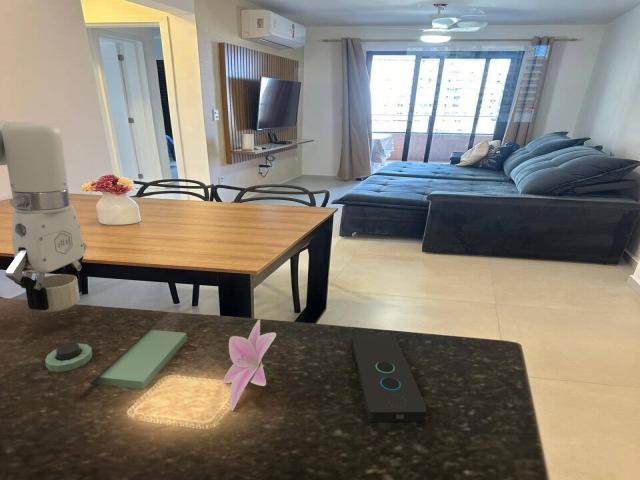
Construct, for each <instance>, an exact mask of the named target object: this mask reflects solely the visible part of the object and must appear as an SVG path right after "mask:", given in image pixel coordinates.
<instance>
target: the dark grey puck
mask: <svg viewBox="0 0 640 480" xmlns="http://www.w3.org/2000/svg"><path fill="white" fill-rule="evenodd" d="M78 344H79V343H78ZM78 344H77V343H76V342H71V343H66V344H63V345H61V346H59V347H57V348H56V349H57V350H56V349H55V350H56V354H57V359H58V360H59V361H65V360H70V359H73V358H75V357H78V356H79V355H80V347H79V345H78Z"/></svg>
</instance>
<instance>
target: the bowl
mask: <svg viewBox="0 0 640 480" xmlns="http://www.w3.org/2000/svg"><path fill="white" fill-rule="evenodd" d="M42 287H45V288H46V292H47V299H48V305H49V308H48V309H47V310H45V311H43V310H38V311H39V312H42V313H54V312H61V311H64V310H67V309H70V308H72V307H73V306H75V305H76V304H77V303H78V302H79V301H80V299H81V297H80V292H79V288H78V281H77V277H76V276H74V275H70V274H61V273H56V274H49V275H45V276H44V280H43V284H42Z"/></svg>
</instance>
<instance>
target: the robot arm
mask: <svg viewBox="0 0 640 480" xmlns="http://www.w3.org/2000/svg"><path fill="white" fill-rule="evenodd" d="M63 144H64V143H63V138H62V133H61V130H60V128H59V127H58V126H57V125H55V124H52V123H48V122H39V121H38V122H36V121H7V120H2V119H0V167H1V166H6V167H7V173H8V180H9V185H10V190H11V191H10V192H11V196H12V198H11V199H10V200H9V204H10V206H11V207H13V208H14V209H13V210H14V211H13V212H12V215H11V216H12V217H11V238H12V239H11V240H12V241H11V242H12V252H13V257H14V258H13V260H12V262H11V263H10V265H9V266H8V267H7V269H6V271H5V272H4V275H5V277H6V278H8V279H10V280H11V281H13V282H14V284H16V285H19V286H20V287H21V288H22V289H25V294H26V295H25V296H26V300H27V301H26V302H27V306H28V309H29V310H35V311H39V310H43V311H45V310H47V309H48V308H49V305H48V299H47V292H46V288H45V287H42V284H43V280H44V276H46V274H49V273H51V272H54V271H57V270H58V269H61V268H63V269H62V270H60V274H70V275H74V276H76V277H77V281H78V288H79V293H81V292H82V283H81V276H80V271H81V270H82V262H83V259H84V255H85V252H86V251H87V248H88V245H87V244H86V243H85V242H84V240H83V235H82V230H81V225H80V222H79V218H78V215H77V213H76V209H75V207H74V205H73V204H71V201H70V194H69V185H68V179H67V178H68V176H67V170H66V169H67V168H66V162H65V161H66V160H65V153H64V145H63ZM33 274H35V277H34V279H33Z"/></svg>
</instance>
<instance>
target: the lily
mask: <svg viewBox="0 0 640 480" xmlns="http://www.w3.org/2000/svg"><path fill="white" fill-rule="evenodd" d="M276 337H277V333H276V332H274V331H273V332H267V333H263V334H261V319H260V318H259V319H258V320H257V321H256V322H255V324H254V325H253V327H252V330H251V331H250V333H249V336H248V338H247V337H243V336H237V335H232V336H231V337H229V339H228V351H229V353H228V354H229V356H230V361H231V362H232V363H233V364H232V365H231V366H230V367H229V369H228V370H227V372H226V374H225V376H224V378H223V380H222V382H223V384H230V383H231V385H230V391H229V409H230V412H233V411H234V409H235V408H236V406H237V404H238V402H239V400H240V397H241V395H242V393H243V391H244V390H245V388H246V386H247V385H248V383H249V382H250V383H251V384H253V385H256V386H262V387H265V386H266V385H267V379H266V376H265V370H266V371H267V372H268V374H270V376H271V377H272V378H273V379H274V380H276V379H277V377H276V376H275V374H274V373H273V372H272V371H271V370H270V369H269V368H268V367H267V366H266V365H264V364H263V361H262V359H263V357H264V355H265V354H266V352H267V350H268V349H269V348H270V346H271V345H272V343H273V341H274V340H275V338H276Z"/></svg>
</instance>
